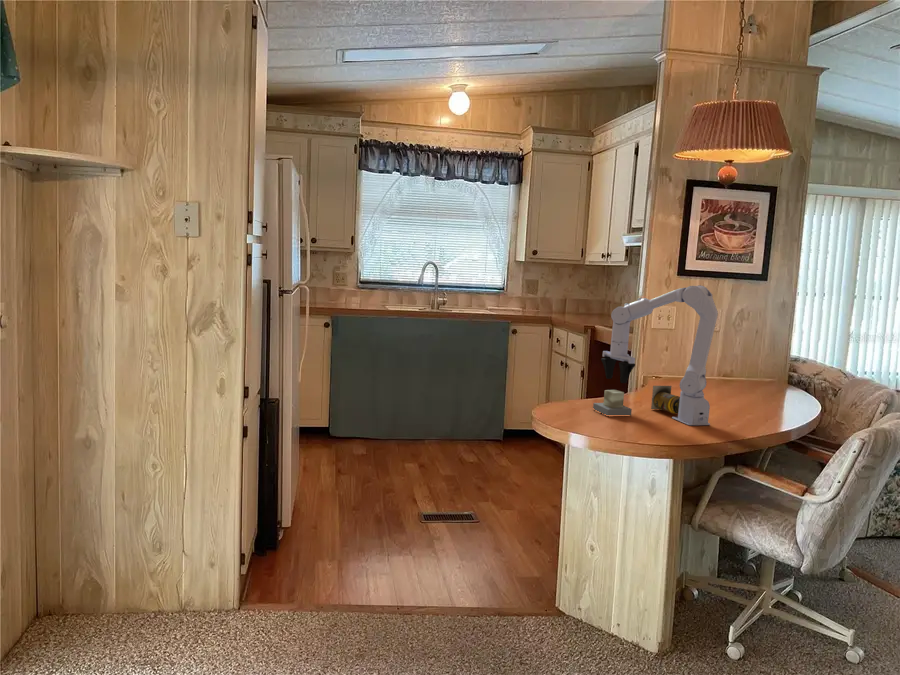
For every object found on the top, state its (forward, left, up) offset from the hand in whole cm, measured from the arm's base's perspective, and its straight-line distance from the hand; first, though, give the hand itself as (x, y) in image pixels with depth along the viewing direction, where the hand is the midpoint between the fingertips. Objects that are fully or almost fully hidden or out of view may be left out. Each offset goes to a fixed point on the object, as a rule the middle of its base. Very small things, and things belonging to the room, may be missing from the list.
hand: (616, 380), depth 233 cm
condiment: (-4, -16, -5) cm, 17 cm away
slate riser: (-8, +6, -10) cm, 14 cm away
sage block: (-8, +6, -7) cm, 12 cm away
